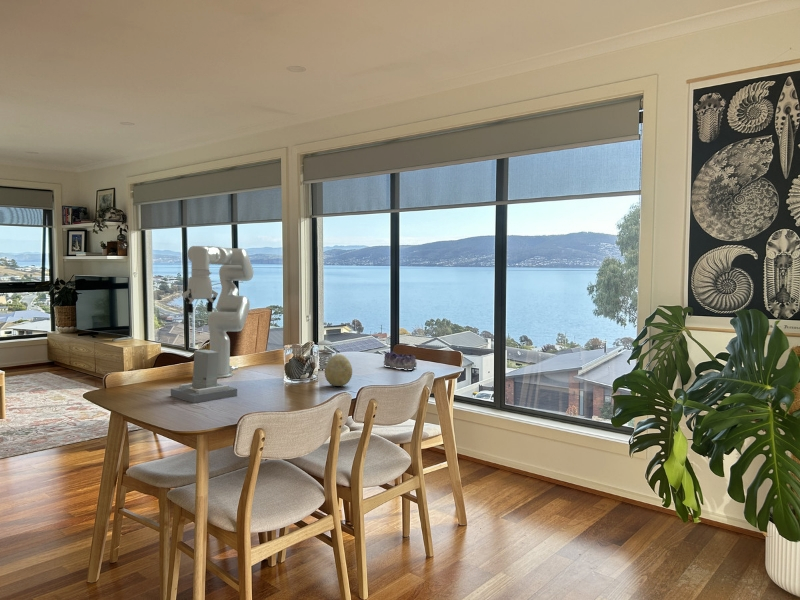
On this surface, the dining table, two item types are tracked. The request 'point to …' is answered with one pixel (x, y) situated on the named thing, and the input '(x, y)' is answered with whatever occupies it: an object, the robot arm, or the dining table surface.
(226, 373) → the robot arm
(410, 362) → the geode
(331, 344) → the french press
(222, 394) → the panel
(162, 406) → the dining table surface
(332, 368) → the fossilized egg
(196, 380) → the skincare box
